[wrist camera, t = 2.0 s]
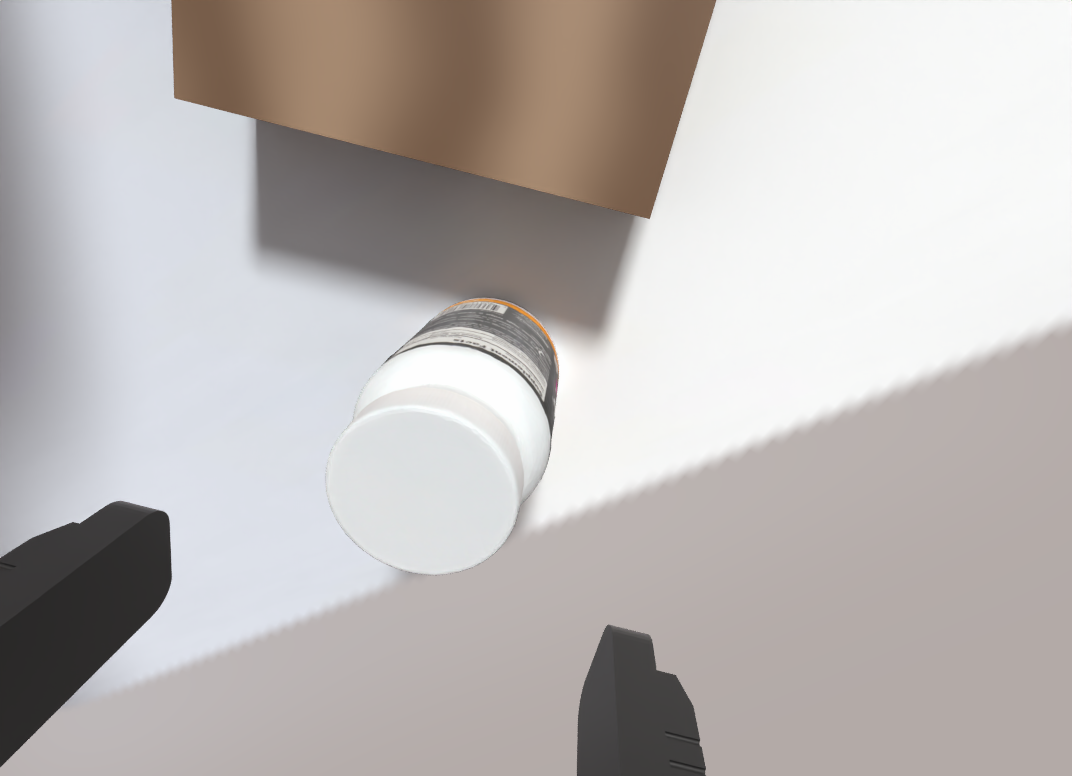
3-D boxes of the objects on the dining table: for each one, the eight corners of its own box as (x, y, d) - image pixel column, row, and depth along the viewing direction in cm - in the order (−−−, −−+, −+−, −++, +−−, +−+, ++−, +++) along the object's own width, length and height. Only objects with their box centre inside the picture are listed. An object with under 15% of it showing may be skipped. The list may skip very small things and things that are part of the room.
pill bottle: (515, 448, 23) (469, 630, 14) (398, 380, 22) (267, 524, 13) (587, 342, 21) (589, 472, 12) (461, 264, 20) (358, 337, 11)
